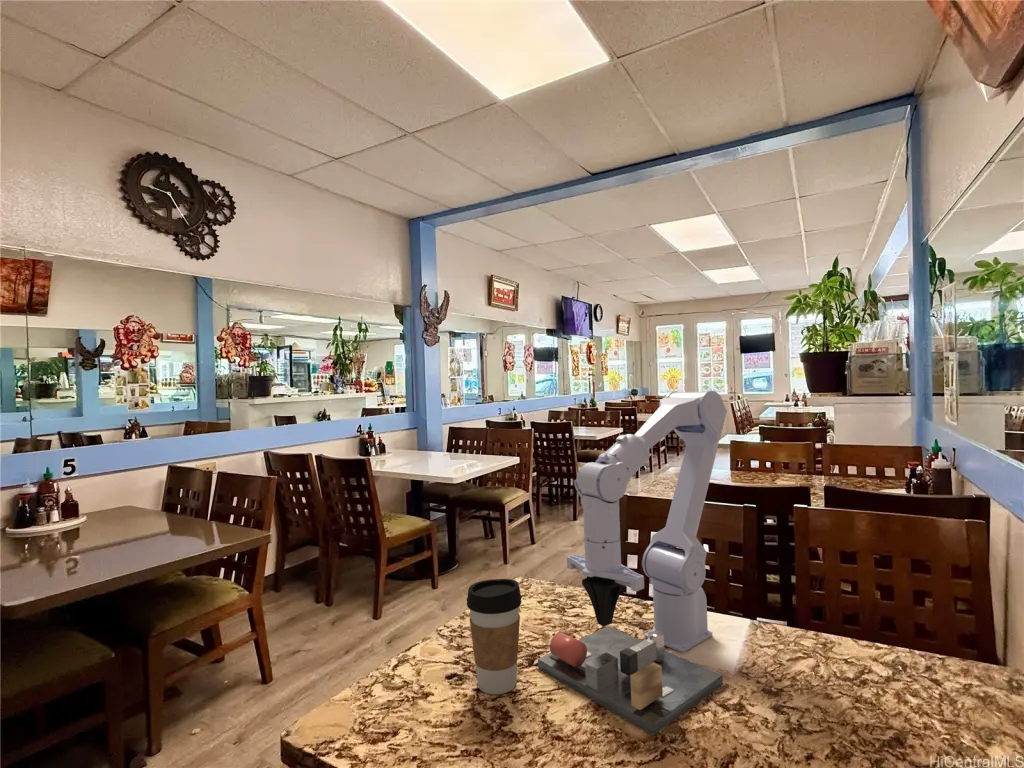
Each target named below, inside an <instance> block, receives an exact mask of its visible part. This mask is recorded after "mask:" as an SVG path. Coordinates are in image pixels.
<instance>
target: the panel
mask: <svg viewBox="0 0 1024 768" xmlns="http://www.w3.org/2000/svg"><path fill="white" fill-rule="evenodd" d="M577 640H578V641H580V642H582V643H584V644H585V645H586V647H587V656H586V659H585V661H584V663H583V664H582V665H581V666H580V667H574V666H572V665H570V664H568V663H566V662H565V661H563V660H561V659H559V658H557V657H555V656H554V655H552V654H551V652H549V653H547V654H545V655H543V656H541V657H539V658H537V668H538V669H539V670H540V671H542V672H544V673H545V674H547V675H549V676H550V677H552V678H554V679H555V680H558V681H559V682H560V683H562V684H565V685H566V686H567V687H569V688H571V689H573V690H574V691H576V692H578V693H579V694H581V695H583V696H585V697H586V698H587V699H590V700H591V701H593V702H595V703H596V704H598V705H600V706H602V707H603V708H605V709H607V710H608V711H610V712H612V713H613V714H615V715H617V716H619V717H620V718H622V719H624V720H626V721H627V722H628V723H630V724H632V725H634V726H635V727H637V728H639V729H640V730H642V731H644V732H645V733H647V734H648V735H650V736H655V735H656V734H658V733H659V732H661V731H662V730H663V729H664V728H666V727H667V726H669V725H670V724H672V723H673V722H675V720H677V719H678V718H680V717H681V716H682V715H684V714H685V713H687V711H689V710H691V709H692V708H693V707H695V706H696V705H698V704H699V703H701V702H702V701H703V700H704V699H706V698H707V697H708V696H710V695H711V694H713V693H715V691H717V690H719V688H721V687H722V686H724V681H723V680H724V677H723V674H722V673H720V672H717V671H715V670H712V669H709V668H708V667H705V666H702V665H700V664H698V663H696V662H694V661H691V660H689V659H686V658H684V657H682V656H679V655H678V654H675V653H673V652H670V651H668V650H665V649H664V650H665V659H664V660H661V661H653V662H654V663H656V664H658V665H660V666H662V689H663V696H661V697H659V698H658V699H656V700H655V701H653V702H652V703H650V704H649V705H647V706H646V707H644V708H643V709H641V710H639V709H637V708H635V707H633V706H631V679H630V676H628V675H626V674H624V673H622V672H621V669H620V651H622V650H624V649H626V648H631V647H633V646H635V645H637V644H639V643H640V642H642V641H643V640H642V639H640V638H638V637H635V636H633V635H630V634H628V633H625V632H624V631H621V630H620V629H616V628H614V627H612V626H609V625H606V626H604V627H603V628H601V629H599V630H596V631H594V632H592V633H590V634H588V635H586V636H584V637H582V638H579V639H577ZM653 662H652V663H653ZM650 664H651V663H650ZM648 665H649V664H648ZM648 665H646V666H648ZM646 666H645V667H646ZM643 668H644V667H643ZM641 669H642V668H641ZM641 669H639V670H641ZM639 670H638V671H639Z"/></svg>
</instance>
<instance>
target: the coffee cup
mask: <svg viewBox="0 0 1024 768" xmlns="http://www.w3.org/2000/svg"><path fill="white" fill-rule="evenodd" d="M467 589H468V590H467V596H466V607H467V608H468V610H469V613H470V616H469V625H470V633H471V641H472V647H473V648H472V649H473V657H474V663H475V671H476V680H477V686H478V689H479V690H480V691H481V692H482V693H485V694H489V695H502V694H506V693H509V692H511V691H513V690H514V688H515V687H516V685H517V681H518V679H517V677H518V676H517V675H518V674H517V673H518V658H519V657H518V656H519V639H520V621H521V619H520V618H521V616H520V606H521V604H522V598H523V597H522V594H521V590H520V584H519V583H518V581H517V580H515V579H512V578H494V579H487V580H480V581H478V582H477V581H476V582H475V583H472V584H471V585H470V586H469V587H468V588H467Z"/></svg>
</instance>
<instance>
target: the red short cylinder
mask: <svg viewBox="0 0 1024 768" xmlns="http://www.w3.org/2000/svg"><path fill="white" fill-rule="evenodd" d="M578 640H579V639H577V638H574V637H572V636H570V635H567V634H565V633H564V632H562V631H561V632H557V633H555V634H554V635H553V636H552V638H551V641H550V643H549V651H550V652H549V653H551V654H552V655H554V656H555V657H557V658H559V659H561V660H563V661H565V662H566V663H568V664H570V665H572V666H574V667H580V666H581V665H582V664H583V663H584V661H585V659H586V656H587V647H586V645H585V644H584V643H582V642H580V641H578Z"/></svg>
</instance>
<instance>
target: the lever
mask: <svg viewBox="0 0 1024 768" xmlns="http://www.w3.org/2000/svg"><path fill="white" fill-rule="evenodd" d="M648 632H649V631H648ZM664 659H665V645H664V634H663V633H662V632H659V631H651V632H649V633H648V638H646V639H644V640H642V642H640V643H639V644H637V645H635V646H633V647H631V648H626V649H624V650H622V651H620V669H621V672H622V673H624V674H626V675H628V676H630V675H632V674H634V673H635V672H637V671H638V670H639V669H641V668H643V667H645V666H646V665H648V664H650V663H652V662H653V661H661V660H664Z"/></svg>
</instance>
